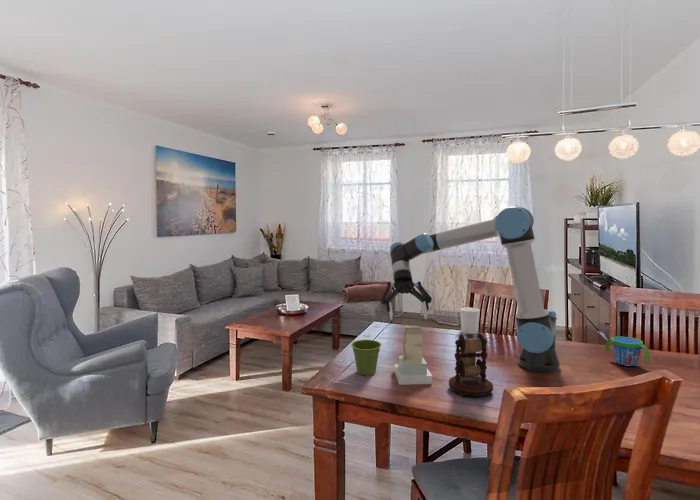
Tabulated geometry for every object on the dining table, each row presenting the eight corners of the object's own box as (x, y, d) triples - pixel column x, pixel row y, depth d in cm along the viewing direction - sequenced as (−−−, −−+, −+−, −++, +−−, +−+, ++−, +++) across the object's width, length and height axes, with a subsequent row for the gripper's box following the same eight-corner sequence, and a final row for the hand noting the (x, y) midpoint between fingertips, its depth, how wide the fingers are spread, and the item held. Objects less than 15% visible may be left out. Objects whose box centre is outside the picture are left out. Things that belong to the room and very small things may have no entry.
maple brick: (403, 356, 151) (403, 326, 150) (418, 356, 151) (418, 325, 150) (406, 362, 145) (406, 330, 144) (422, 362, 145) (422, 330, 144)
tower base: (394, 371, 154) (394, 354, 154) (424, 371, 155) (424, 353, 154) (399, 384, 142) (399, 365, 142) (432, 383, 143) (432, 365, 142)
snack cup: (598, 359, 165) (599, 336, 165) (616, 356, 169) (617, 333, 168) (636, 373, 151) (637, 347, 150) (655, 369, 154) (656, 344, 154)
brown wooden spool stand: (481, 380, 146) (482, 327, 144) (501, 398, 131) (502, 339, 129) (442, 382, 144) (443, 329, 142) (458, 401, 129) (459, 341, 128)
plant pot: (345, 371, 155) (344, 343, 154) (368, 364, 162) (368, 337, 162) (364, 381, 146) (364, 351, 145) (387, 373, 153) (387, 344, 152)
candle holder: (469, 335, 201) (469, 312, 200) (455, 330, 210) (456, 308, 209) (483, 332, 206) (483, 310, 205) (469, 328, 214) (470, 306, 213)
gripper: (429, 278, 170) (439, 321, 156) (372, 279, 169) (376, 323, 155) (433, 268, 164) (442, 311, 151) (373, 269, 163) (377, 313, 149)
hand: (409, 317), depth 153 cm, fingers open, 13 cm apart
